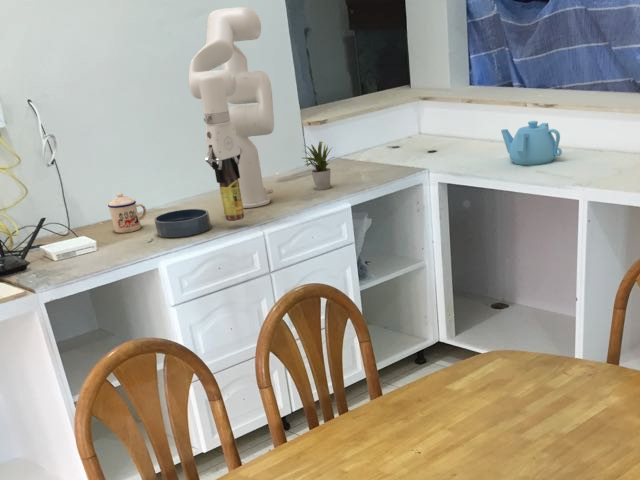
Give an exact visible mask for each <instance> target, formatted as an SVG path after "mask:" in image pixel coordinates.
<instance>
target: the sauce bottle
mask: <svg viewBox="0 0 640 480" xmlns="http://www.w3.org/2000/svg"><path fill="white" fill-rule="evenodd" d="M221 169H223V171H224V177H225V183H218V184H219V189H220V190H219V191H220V197H221V202H222V208H223V213H224V217H225V220H226V221H227V222H236V221H241V220H242V219H244V218H245V215H244V213H245V212H244V211H245V210H244V208H243V204H242V198H241V192H240V186H239V180H238V178H237V176H236V174H235V172H234V170H233V168H232V164H231V158H228V159H224V160H222V168H221Z"/></svg>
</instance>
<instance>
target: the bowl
mask: <svg viewBox="0 0 640 480" xmlns="http://www.w3.org/2000/svg"><path fill="white" fill-rule="evenodd" d="M153 222H154V225H155V229H156V234H157V236H158V237H162V238H182V237H190V236H194V235H198V234H201V233H204V232H206V231H208V230H210V229H211V227H212V224H211V220H210V213H209V211H208V210H207V209H203V208H186V209H179V210H173V211H168V212H165V213H161V214H159V215H157V216H155V217H154V219H153Z"/></svg>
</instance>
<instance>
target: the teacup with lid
mask: <svg viewBox="0 0 640 480" xmlns="http://www.w3.org/2000/svg"><path fill="white" fill-rule="evenodd" d="M107 207H108V209H109V213H110V218H111V220H112V221H111V222H112V225H113V229H114V231H115V232H116V233H119V234H127V233H132V232H136V231H138V230H140V229H141V228H142V225H141V220H144V218H145V217H146V215H147V208H146V206H145V205H144V204H142V203H137V201H136V200H135V199H134V198H133V197H128V196H126V195H124V193H122V192H117V193H116V197H114V198H113V199H112V200H110V201H109V202H108V203H107ZM137 207H141V208H142V209H143V213H142V215H141V216H139V213H138V208H137Z"/></svg>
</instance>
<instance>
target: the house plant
mask: <svg viewBox="0 0 640 480" xmlns="http://www.w3.org/2000/svg"><path fill="white" fill-rule="evenodd" d="M323 143H324V142H323V141H321V140H320V141H319V142H318V146H317V149H316V148H315V146H314V145H313V144H311V148H310V147H309V146H308V145H304V144H303V146H305V147H306V148H307V149H308V150H309V151H306V150H304V149H303V152H305V153H306V154H307V155H308V156H305V157H302V159H304V160H305V166H306V167H307V168H308V167H309V166H310V165H311V166H312V167H313V168H314V169H312V170H311V171H310V172H311V176H312V179H313V183H314V186H315V190H316V191H317V190H320V191H322V190H323V191H324V190H327V189H328V190H329V189H330V188H331V171H332V170H331V168H328V167H327V166H328V165H330V162H329V161H330V159H332V158H335V156H332V157H330V158H329V159H328V160H327V157H328V155H329V153H330V152H331V150H332V148H333V147H331V148H330V149H329V148H328V146H329V144H327V145H326V144H324V146H323ZM322 147H323V150H322ZM328 149H329V150H328Z"/></svg>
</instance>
